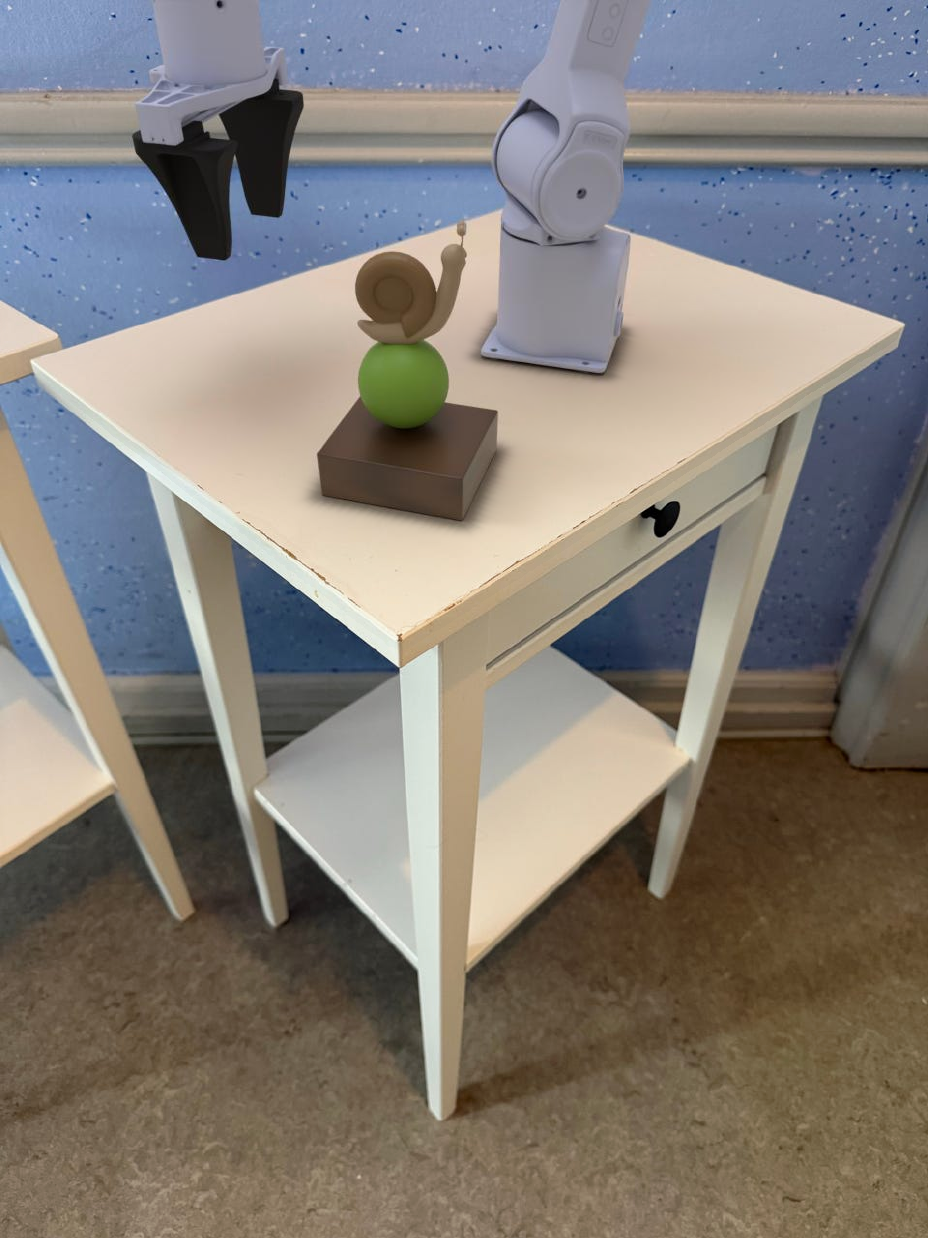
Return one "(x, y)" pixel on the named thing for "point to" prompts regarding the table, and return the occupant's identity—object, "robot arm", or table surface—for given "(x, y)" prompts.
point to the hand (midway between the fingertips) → (241, 234)
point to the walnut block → (410, 460)
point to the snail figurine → (406, 334)
